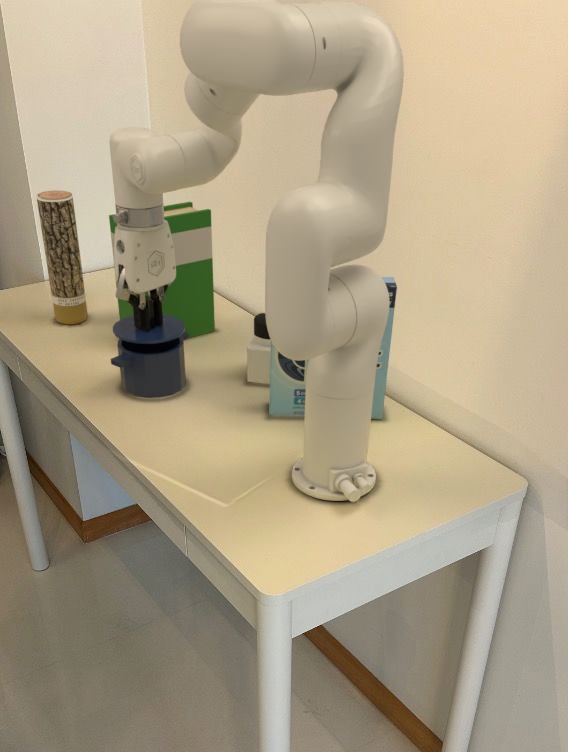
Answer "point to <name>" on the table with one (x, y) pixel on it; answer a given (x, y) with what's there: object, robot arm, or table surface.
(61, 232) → the paper tube
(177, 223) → the hardback book
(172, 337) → the lid
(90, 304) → the table surface
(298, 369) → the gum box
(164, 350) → the pot
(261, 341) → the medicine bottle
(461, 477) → the table surface
